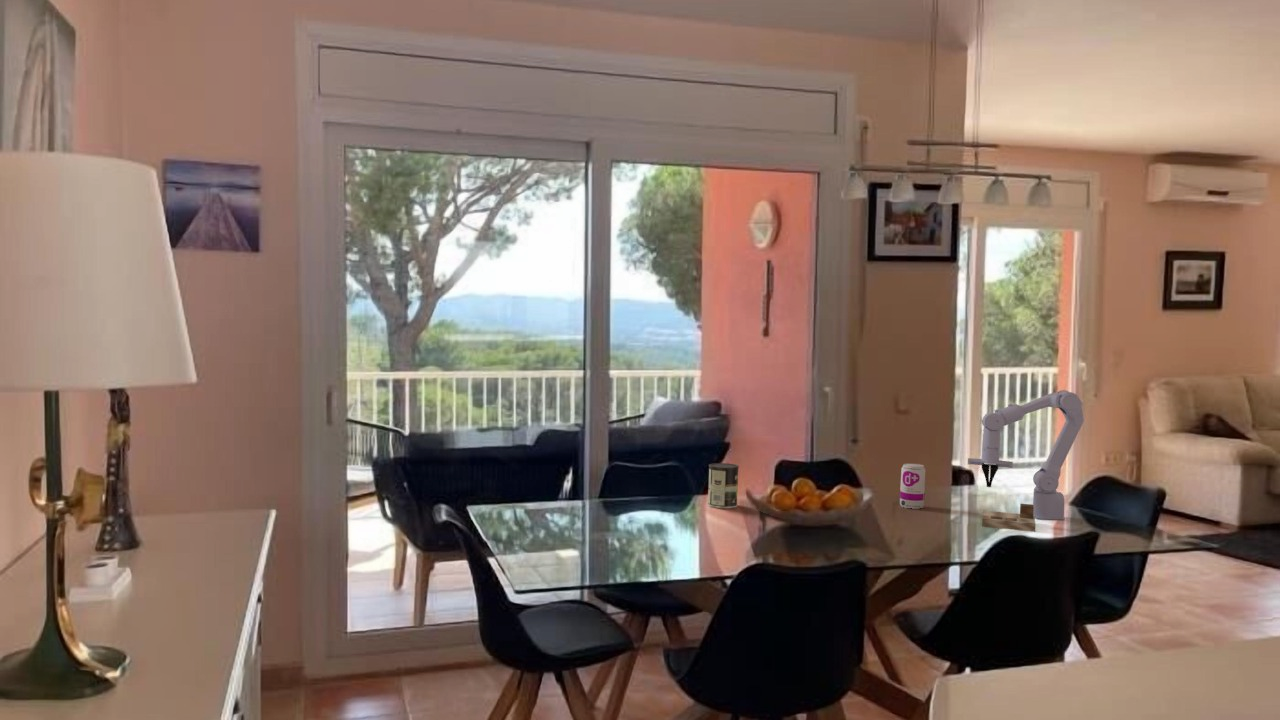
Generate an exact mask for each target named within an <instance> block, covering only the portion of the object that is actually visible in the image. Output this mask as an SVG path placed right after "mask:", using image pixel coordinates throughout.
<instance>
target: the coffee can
mask: <svg viewBox="0 0 1280 720" xmlns="http://www.w3.org/2000/svg"><path fill="white" fill-rule="evenodd" d="M738 483H739V465H737V464H736V463H735V464H734V463H728V462H717V463H716V462H715V463H709V464H708V490H707V491H708V492H707V493H708V494H707V495H708V499H707V506H708V507H710V508H714V509H722V510H723V509H724V510H725V509H726V510H727V509H728V510H729V509H735V508H737V507H738V485H739V484H738Z"/></svg>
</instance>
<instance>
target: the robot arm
mask: <svg viewBox="0 0 1280 720" xmlns="http://www.w3.org/2000/svg"><path fill="white" fill-rule="evenodd" d="M1045 408H1054V409H1058V410H1060V412H1061V413H1062V415H1063V417H1064V419H1065V422H1064V423H1063V426H1062V428H1061V430H1060V433H1059V434H1058V437H1056V441H1055V442H1054V445H1053V447H1052V448H1051V451H1050V453H1049V455H1048V456H1047V459H1046V461H1045V462H1044V463H1043V464H1042V465H1041V467H1040V469H1038V470H1037V471H1036V472H1035V473H1034V474H1033V477H1032V480H1033V484H1034V485H1035V487H1034V489H1033V498H1032V499H1033V500H1032V501H1033V502H1032V505H1034V511H1033V515H1034V517H1035V519H1036V520H1061V521H1062V520H1063V521H1065V496H1064V494H1063V492H1059V491H1057V489H1058V487H1059V484H1060V483H1059V479H1060V476H1061V470H1062V469H1061V468H1062V466H1063V464H1064V462H1065V461H1066V458H1067V456H1068V454H1069V453H1070V451H1071V448H1072V446H1073V444H1074V442H1075V441H1076V437H1077V436H1078V434H1079V432H1080V430H1081V427H1082V426H1083V424H1084V413H1083V402H1082V400H1081V398H1080V396H1078V394H1077V393H1076V392H1075V393H1074V392H1070V391H1068V390H1065V389H1064V390H1063V389H1062V390H1059V391H1058V392H1057V391H1054V392H1051V393H1049V394H1046V395H1043V396H1040V397H1038V398H1036V399H1033V400H1031V401H1029V402H1026V403H1023V404H1022V405H1019V404H1017V403H1015V404H1014V403H1013V404H1012V403H1009V404H1007V406H1006V407H1003V408H1000V409H994V412H987V413H986V414H984V415H983V416H982V419H981V424H982V426H983V429H982V431H983V432H982V440H981V441H982V443H981V445H982V446H981V458H972V457H971V458H967V465H976V466H981V470H982V472H983V474H984V478H985V483H986V488H992V483H993V481H994V477H995V476H996V473H997V472H998V470H999V467H1001V468H1009V469H1013V466H1014V462H1013V461H1011V460H1002V459H1001V460H1000V449H1001V448H1000V447H1001V429H1002V427H1003V426H1008V425H1011V424H1013V423H1015V422H1019V421H1021V420H1023V419H1024V417H1025V415H1027V414H1031V413H1033V412H1036V411H1039V410H1043V409H1045Z"/></svg>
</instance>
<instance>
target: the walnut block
mask: <svg viewBox="0 0 1280 720" xmlns="http://www.w3.org/2000/svg"><path fill="white" fill-rule="evenodd" d="M1019 505H1020V508H1019V514H1020V518H1028V519H1033V511H1034V505H1033V504H1030V503H1029V504H1028V503H1020V504H1019Z"/></svg>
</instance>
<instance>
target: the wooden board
mask: <svg viewBox="0 0 1280 720" xmlns="http://www.w3.org/2000/svg"><path fill="white" fill-rule="evenodd" d="M1018 514H1019V513H1012V512H1003V511H993V510H992V511H991V510H982V517H981V518H982V519H981V521H982V522H981V525H982V527H987V528H988V527H989V528H997V529H1007V530H1017V531H1026V532H1027V531H1028V532H1036V519H1035V520H1025V519H1018Z"/></svg>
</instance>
